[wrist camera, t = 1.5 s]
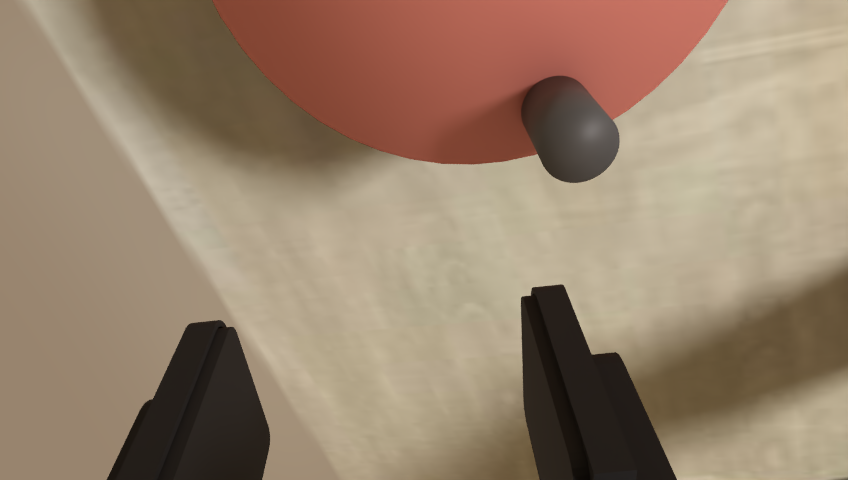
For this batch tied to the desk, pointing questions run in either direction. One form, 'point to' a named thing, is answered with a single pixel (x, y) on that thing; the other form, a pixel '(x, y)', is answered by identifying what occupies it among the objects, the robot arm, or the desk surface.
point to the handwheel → (472, 71)
